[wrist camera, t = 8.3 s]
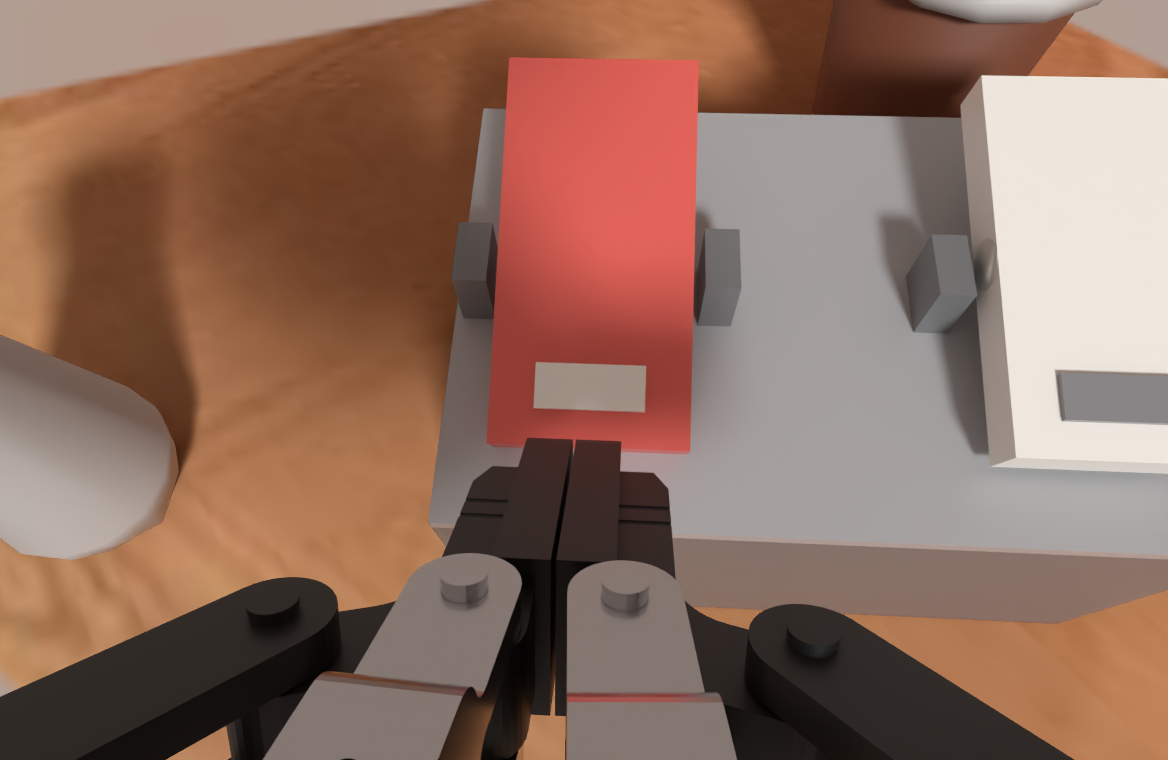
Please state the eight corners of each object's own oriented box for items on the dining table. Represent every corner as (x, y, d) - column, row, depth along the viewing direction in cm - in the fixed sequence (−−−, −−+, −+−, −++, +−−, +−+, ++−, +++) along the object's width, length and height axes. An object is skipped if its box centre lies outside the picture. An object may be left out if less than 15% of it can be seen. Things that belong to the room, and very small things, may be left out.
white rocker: (1143, 109, 20) (1180, 74, 19) (1197, 474, 18) (1244, 465, 16) (960, 105, 20) (984, 71, 19) (989, 467, 18) (1019, 456, 17)
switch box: (995, 292, 31) (1178, 71, 21) (1057, 623, 25) (1337, 538, 16) (515, 278, 31) (474, 59, 22) (483, 596, 26) (410, 499, 17)
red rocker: (694, 87, 20) (699, 56, 19) (685, 454, 19) (690, 451, 17) (515, 83, 20) (508, 53, 19) (494, 447, 19) (484, 442, 18)
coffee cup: (1036, 109, 34) (1235, -196, 23) (944, 262, 31) (1124, -5, 20) (838, 23, 37) (936, -289, 26) (735, 158, 34) (796, -131, 23)
